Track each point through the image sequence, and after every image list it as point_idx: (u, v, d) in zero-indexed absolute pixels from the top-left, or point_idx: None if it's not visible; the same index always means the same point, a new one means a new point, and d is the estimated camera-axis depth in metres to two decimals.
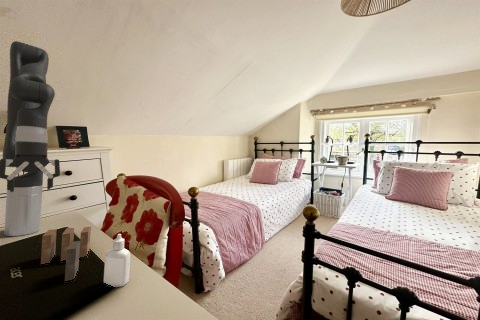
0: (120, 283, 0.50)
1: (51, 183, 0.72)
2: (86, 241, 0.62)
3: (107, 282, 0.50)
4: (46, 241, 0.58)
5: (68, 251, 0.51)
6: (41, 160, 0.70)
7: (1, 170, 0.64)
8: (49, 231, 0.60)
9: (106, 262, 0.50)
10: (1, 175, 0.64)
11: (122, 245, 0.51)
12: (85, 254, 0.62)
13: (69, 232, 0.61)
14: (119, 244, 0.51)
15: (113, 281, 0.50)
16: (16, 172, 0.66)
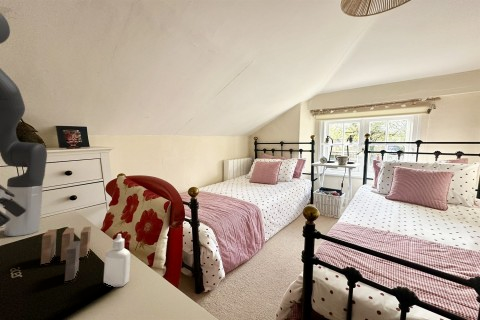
0: (120, 283, 0.50)
1: None
2: (86, 241, 0.62)
3: (107, 282, 0.50)
4: (46, 241, 0.58)
5: (68, 251, 0.51)
6: None
7: None
8: (49, 231, 0.60)
9: (106, 262, 0.50)
10: None
11: (122, 245, 0.51)
12: (85, 254, 0.62)
13: (69, 232, 0.61)
14: (119, 244, 0.51)
15: (113, 281, 0.50)
16: None
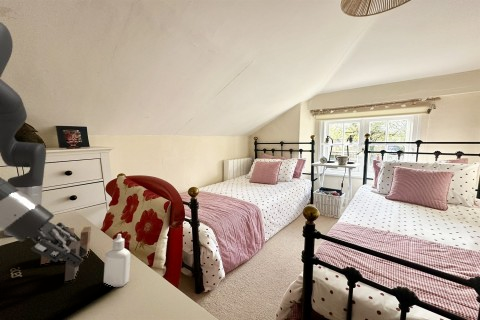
0: (120, 283, 0.50)
1: None
2: (86, 241, 0.62)
3: (107, 282, 0.50)
4: None
5: None
6: None
7: None
8: None
9: (106, 262, 0.50)
10: None
11: (122, 245, 0.51)
12: (85, 254, 0.62)
13: None
14: (119, 244, 0.51)
15: (113, 281, 0.50)
16: None
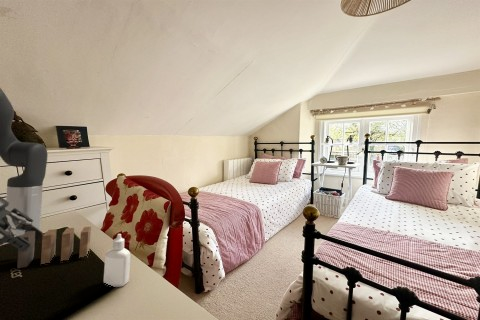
0: (120, 283, 0.50)
1: None
2: (86, 241, 0.62)
3: (107, 282, 0.50)
4: (46, 241, 0.58)
5: None
6: None
7: None
8: (49, 231, 0.60)
9: (106, 262, 0.50)
10: None
11: (122, 245, 0.51)
12: (85, 254, 0.62)
13: (69, 232, 0.61)
14: (119, 244, 0.51)
15: (113, 281, 0.50)
16: None
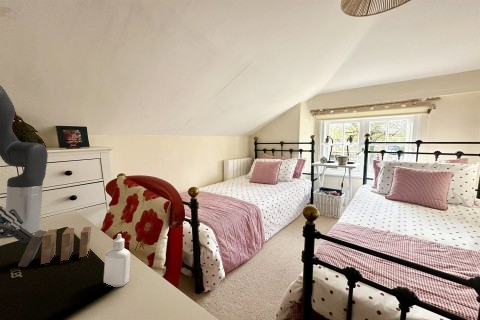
0: (120, 283, 0.50)
1: None
2: (86, 241, 0.62)
3: (107, 282, 0.50)
4: (46, 241, 0.58)
5: (32, 238, 0.56)
6: None
7: None
8: (49, 231, 0.60)
9: (106, 262, 0.50)
10: None
11: (122, 245, 0.51)
12: (85, 254, 0.62)
13: (69, 232, 0.61)
14: (119, 244, 0.51)
15: (113, 281, 0.50)
16: None
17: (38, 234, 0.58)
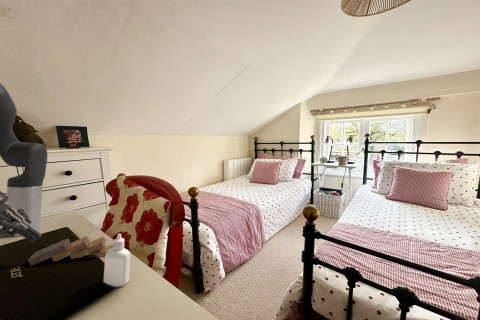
0: (120, 283, 0.50)
1: None
2: None
3: (107, 282, 0.50)
4: (79, 247, 0.61)
5: (62, 246, 0.59)
6: None
7: None
8: (87, 239, 0.65)
9: (106, 262, 0.50)
10: None
11: (122, 245, 0.51)
12: None
13: (103, 245, 0.64)
14: (119, 244, 0.51)
15: (113, 281, 0.50)
16: None
17: (66, 244, 0.61)
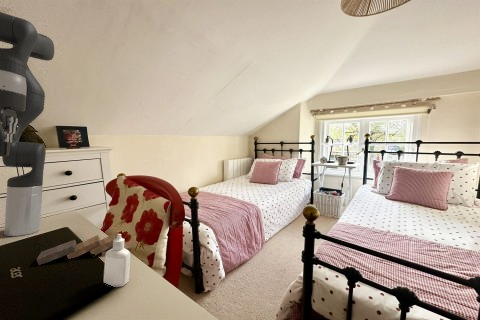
0: (120, 283, 0.50)
1: None
2: None
3: (107, 282, 0.50)
4: (93, 245, 0.64)
5: (71, 247, 0.60)
6: None
7: None
8: (98, 238, 0.67)
9: (106, 262, 0.50)
10: None
11: (122, 245, 0.51)
12: None
13: None
14: (119, 244, 0.51)
15: (113, 281, 0.50)
16: None
17: (74, 246, 0.62)
